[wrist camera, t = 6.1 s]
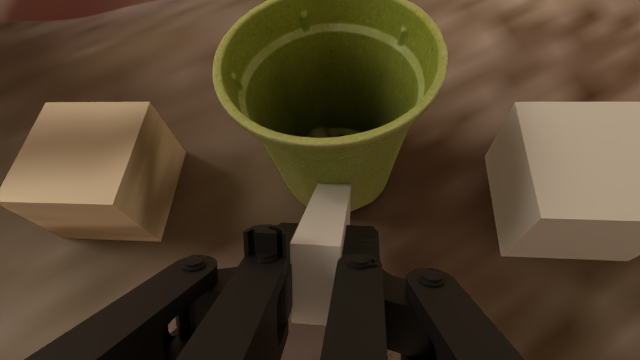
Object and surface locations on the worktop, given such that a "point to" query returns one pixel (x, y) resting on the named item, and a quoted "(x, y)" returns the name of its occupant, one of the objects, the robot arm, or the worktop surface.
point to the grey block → (567, 180)
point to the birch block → (96, 171)
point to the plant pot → (331, 87)
